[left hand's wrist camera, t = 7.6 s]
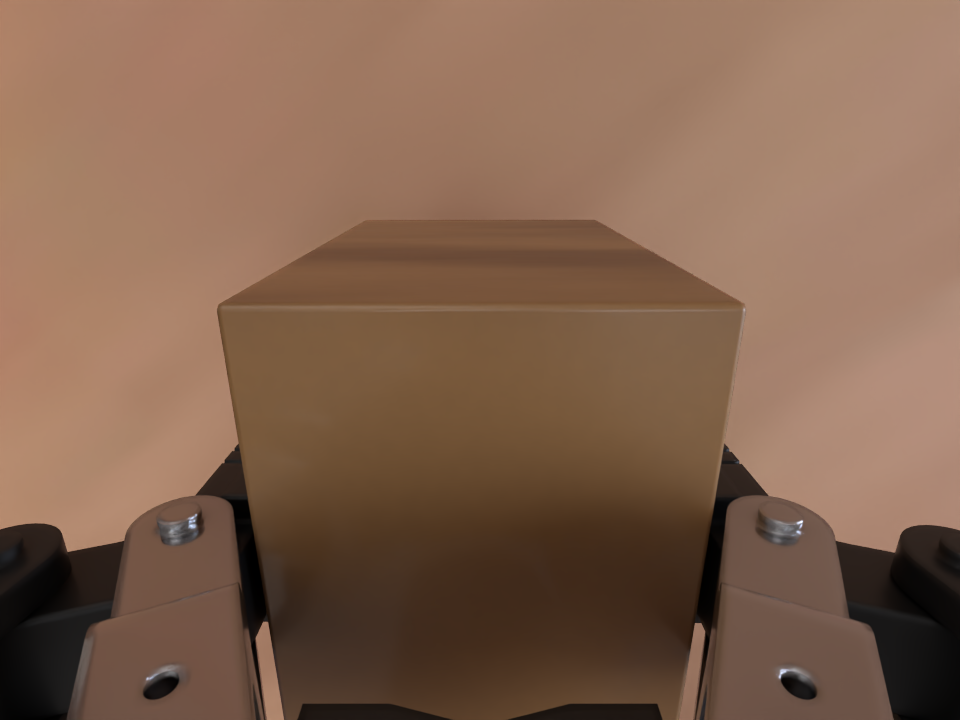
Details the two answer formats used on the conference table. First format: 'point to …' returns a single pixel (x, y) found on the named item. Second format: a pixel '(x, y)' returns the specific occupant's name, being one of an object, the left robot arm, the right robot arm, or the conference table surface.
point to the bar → (481, 464)
